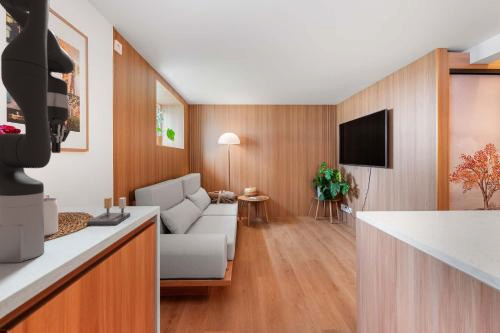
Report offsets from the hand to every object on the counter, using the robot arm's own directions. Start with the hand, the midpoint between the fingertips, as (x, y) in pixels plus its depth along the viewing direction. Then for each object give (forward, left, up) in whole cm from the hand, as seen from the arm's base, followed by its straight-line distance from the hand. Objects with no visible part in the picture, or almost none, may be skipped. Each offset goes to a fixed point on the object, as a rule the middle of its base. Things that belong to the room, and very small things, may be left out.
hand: (56, 152), depth 94 cm
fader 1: (+14, -12, -26) cm, 32 cm away
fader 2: (+14, -19, -26) cm, 35 cm away
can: (-9, -2, -29) cm, 30 cm away
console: (+9, -16, -28) cm, 34 cm away
